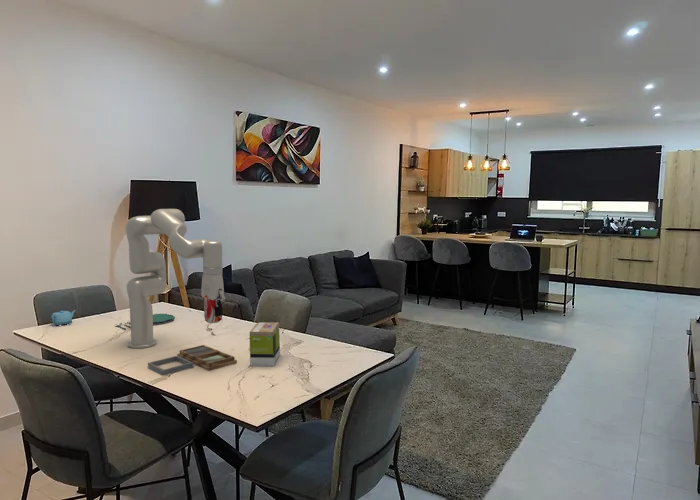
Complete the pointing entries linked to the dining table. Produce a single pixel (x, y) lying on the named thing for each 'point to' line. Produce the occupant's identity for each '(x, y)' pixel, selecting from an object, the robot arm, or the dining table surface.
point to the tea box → (264, 344)
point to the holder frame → (163, 372)
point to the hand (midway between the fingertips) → (213, 314)
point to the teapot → (62, 317)
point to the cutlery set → (155, 319)
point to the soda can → (210, 310)
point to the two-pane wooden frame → (207, 357)
